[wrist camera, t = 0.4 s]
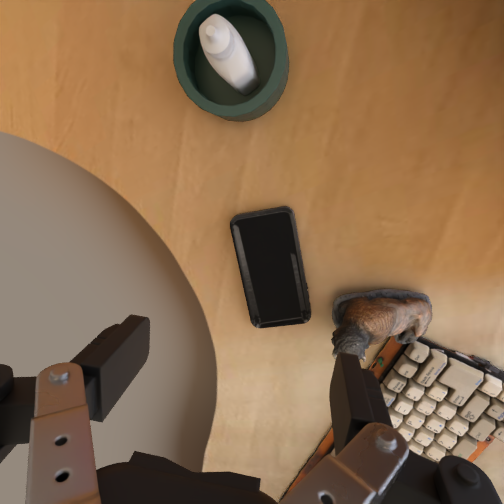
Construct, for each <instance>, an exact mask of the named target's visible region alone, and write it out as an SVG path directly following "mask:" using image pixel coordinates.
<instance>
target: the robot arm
mask: <svg viewBox="0 0 504 504" xmlns="http://www.w3.org/2000/svg"><path fill="white" fill-rule="evenodd" d="M149 340H150V320H149V318H148V317H143V316H137V315H130V316H129V317H127V318H126V319H125V320H124V322H122V323H121V324H115V325H113V326H111V327H108V328H107V329H105V330H103V331H102V332H101V333H100V334H99V335H98V336H97V338H95V339H94V340H93V341H92V342H91V344H88V345H87V346H86V347H85V348H84V349H83V350H82V351H81V352H80V353H79V354H78V355H77V356H76V357H74V358H73V359H72V360H71V361H70V362H69V363H58V364H55V365H52V366H49V367H48V368H46V369H44V370H43V371H41V372H40V374H39V375H38V376H37V377H13V371H12V368H11V367H10V366H7V365H4V364H0V463H1V462H2V461H3V459H5V457H6V456H7V455H8V454H9V453H10V452H11V450H12V449H13V448H14V447H15V446H16V445H17V444H25V443H29V456H28V471H27V486H26V501H25V504H502V502H501V500H500V498H499V496H498V494H497V492H496V490H495V488H494V486H493V484H492V482H491V480H490V479H489V477H488V476H487V475H486V474H485V473H484V472H483V471H482V470H481V469H480V468H479V467H477V466H476V465H475V464H473V463H472V462H470V461H468V460H466V459H464V458H462V457H458V456H454V455H448V456H444V457H442V458H441V459H440V461H439V464H438V463H436V462H434V461H432V460H429V459H427V458H425V457H423V456H421V455H419V454H417V453H415V452H413V451H412V450H410V449H409V446H408V443H407V441H406V439H405V438H404V437H403V436H402V435H401V434H400V433H399V432H398V431H397V430H395V429H394V427H393V424H392V421H391V418H390V415H389V412H388V409H387V406H386V403H385V400H384V396H383V393H382V391H381V387H380V384H379V381H378V379H377V378H376V377H375V375H374V374H373V373H372V372H371V371H370V370H367V369H362V368H361V366H360V362H359V358H358V355H355V354H350V353H344V352H338V354H337V357H336V362H335V366H334V371H333V375H332V380H331V384H330V408H331V418H332V427H333V436H334V446H335V455H336V457H334V456H332V455H331V454H328V455H326V456H325V457H324V458H323V459H322V460H321V461H320V462H319V463H318V464H317V465H316V466H315V467H314V468H313V469H312V470H311V471H310V472H309V473H308V474H307V475H306V476H305V477H304V478H303V479H302V480H301V481H300V482H299V483H298V484H297V485H296V486H295V487H294V488H293V489H292V490H291V491H290V492H289V493H288V494H287V495H286V496H285V497H284V498H283V499H282V500H281V501H280V502H279V503H277V502H276V501H275V500H274V499H273V498H271V497H270V496H268V495H267V494H265V493H263V492H262V491H260V490H259V488H260V480H261V479H260V478H256V477H251V476H246V475H242V474H237V473H233V472H200V473H196V472H191V471H190V470H188V469H186V468H184V467H182V466H180V465H178V464H176V463H174V462H172V461H170V460H168V459H166V458H164V457H160V456H155V455H150V454H146V453H141V452H137V451H134V453H133V455H132V457H131V459H130V461H129V462H122V463H116V464H112V465H108V466H105V467H103V468H100V469H98V470H96V466H95V458H94V450H93V443H92V435H91V426H90V420H93V421H98V422H103V420H104V419H105V418H106V416H107V415H108V414H109V412H110V411H111V409H112V408H113V407H114V405H115V404H116V402H117V401H118V400H119V398H120V397H121V395H122V394H123V393H124V391H125V390H126V389H127V387H128V386H129V385H130V383H131V382H132V380H133V379H134V378H135V376H136V375H137V374H138V372H139V370H140V369H141V368H142V367H143V365H144V364H145V362H146V360H147V357H148V354H149Z"/></svg>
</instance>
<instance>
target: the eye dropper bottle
mask: <svg viewBox="0 0 504 504" xmlns="http://www.w3.org/2000/svg"><path fill="white" fill-rule="evenodd" d="M199 37H200V42H201V45H202V48H203V51H204V54H205V56H206V58H207V59H208V61H209V63H210V64H211V66H212V67H213V68H214V69H215V71H216V72H217V73H218V74H219V75H220V76H221V77H222V78H223V79H224V80H225V81H226V82H227V83H228V84H230V85H231V86H232V87H233V88H234V89H235V90H236V91H237V92H239V93H240V94H242V95H248V94H249V93H251V92H252V91H253V90H255V89H256V88H257V87H258V86H259V83H260V80H259V74H258V70H257V67H256V65H255V62H254V60H253V58H252V56H251V55H250V53H249V51H248V49H247V47H246V45H245V43H244V42H243V40H242V38H241V36H240V35H239V33H238V32H237V30H236V29H235V28H234V27H233V25H232V24H231V23H230V22H228V21H227V20H226V19H225V18H223V17H222V16H220V15H218V14H213V15H211V16H210V17H208V18H207V19H206V20H205V21H204V22H203V23H202V24H201V25H200V27H199Z"/></svg>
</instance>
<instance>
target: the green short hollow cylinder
mask: <svg viewBox="0 0 504 504" xmlns="http://www.w3.org/2000/svg"><path fill="white" fill-rule="evenodd" d="M213 14H218V15H220V16H222V17H223V18H225V19H226V20H227V21H228V22H230V23H231V24H232V25H233V27H234V28H235V29H236V30H237V32H238V33H239V35H240V36H241V38H242V40H243V42H244V43H245V45H246V47H247V49H248V51H249V53H250V55H251V56H252V58H253V60H254V62H255V65H256V67H257V70H258V74H259V80H260V83H259V86H258V87H257V88H256V89H255V90H253V91H252V92H251V93H249V94H248V95H242V94H240V93H239V92H237V91H236V90H235V89H234V88H233V87H232V86H231V85H230V84H228V83H227V82H226V81H225V80H224V79H223V78H222V77H221V76H220V75H219V74H218V73H217V72H216V71H215V69H214V68H213V67H212V66H211V64H210V63H209V61H208V59H207V58H206V56H205V54H204V51H203V48H202V45H201V42H200V37H199V27H200V25H201V24H202V23H203V22H204V21H205V20H206V19H207V18H208V17H210V16H211V15H213ZM173 61H174V66H175V70H176V74H177V77H178V80H179V83H180V84H181V86H182V88H183V89H184V91H185V93H186V94H187V96H188V97H189V98H190V99H191V100H192V101H193V102H194V103H195V104H196V105H198V106H199V107H200V108H201V109H203V110H205V111H207V112H210V113H212V114H214V115H217V116H219V117H221V118H224V119H226V120H229V121H241V122H243V121H249V120H253V119H256V118H258V117H260V116H262V115H263V114H265V113H266V112H268V111H269V110H270V109H271V108H272V107H273V106H274V105H275V104H276V103H277V101H278V100H279V99H280V97H281V95H282V93H283V91H284V89H285V86H286V83H287V80H288V73H289V57H288V50H287V44H286V39H285V34H284V28H283V25H282V23H281V21H280V20H279V18H278V16H277V14H276V12H275V10H274V9H273V7H272V6H271V5H270V4H269V3H267V2H266V1H265V0H196V1H195V2H194V3H192V4H191V5H190V6H189V8H188V9H187V11H186V13H185V14H184V16H183V17H182V19H181V20H180V23H179V25H178V28H177V32H176V35H175V39H174V54H173Z"/></svg>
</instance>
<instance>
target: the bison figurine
mask: <svg viewBox="0 0 504 504" xmlns="http://www.w3.org/2000/svg"><path fill="white" fill-rule="evenodd" d="M332 319H333V322H334V325H335V326H336V328H337V329H336V330H335V331H334V332H333V338H332V339H331V340H332V344H333V345H334V350H333V353H332V354H333V357H334V358H335V359H336V355H337V354H338V352H344V353H350V354H355V355H358V358H359V360H360V359H363V362H365V361H366V356H365V349H367V348H369V346H370V345H373V344H378V343H380V342H382V341H384V339H385V338H386V337H387V336H394V338H395V340H396V342H397V343H401V344H407V343H413V342H415V341H416V340H417V339H418V338H419V336H421V335H424V334H425V333H426V331H427V328H428V325H429V323H430V322H431V320H432V305H431V302H430V299H429V297H428V296H427V295H425V294H422V293H418V292H412V291H406V290H393V289H378V290H373V291H368V292H360V293H350V294H344V295H341V296H339V297H338V298H336V299H335V300H334V303H333V310H332Z"/></svg>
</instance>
